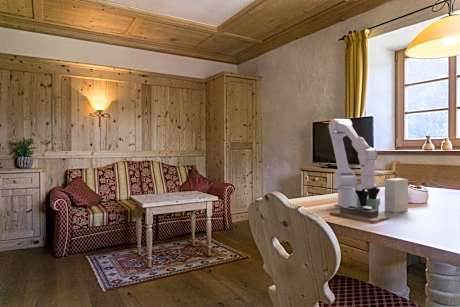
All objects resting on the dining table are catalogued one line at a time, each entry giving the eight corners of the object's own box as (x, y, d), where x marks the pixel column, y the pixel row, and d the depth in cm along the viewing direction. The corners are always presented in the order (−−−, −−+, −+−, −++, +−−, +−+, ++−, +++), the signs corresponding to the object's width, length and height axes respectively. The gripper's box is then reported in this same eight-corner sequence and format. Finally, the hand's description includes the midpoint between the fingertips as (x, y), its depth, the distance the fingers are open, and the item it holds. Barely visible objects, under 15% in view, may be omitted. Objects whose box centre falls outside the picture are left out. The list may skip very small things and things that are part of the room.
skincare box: (397, 208, 147) (397, 177, 146) (408, 211, 141) (408, 178, 141) (383, 210, 144) (383, 178, 143) (394, 213, 138) (394, 179, 138)
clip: (359, 210, 145) (359, 197, 145) (378, 213, 138) (378, 200, 138) (356, 210, 144) (356, 197, 144) (375, 214, 137) (375, 200, 136)
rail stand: (345, 210, 144) (345, 203, 144) (388, 218, 128) (388, 210, 128) (329, 214, 137) (329, 206, 137) (373, 223, 121) (373, 214, 121)
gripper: (367, 176, 133) (367, 208, 133) (384, 174, 142) (384, 204, 142) (352, 175, 138) (352, 206, 139) (369, 173, 147) (369, 202, 148)
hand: (367, 205), depth 141 cm, fingers open, 7 cm apart
